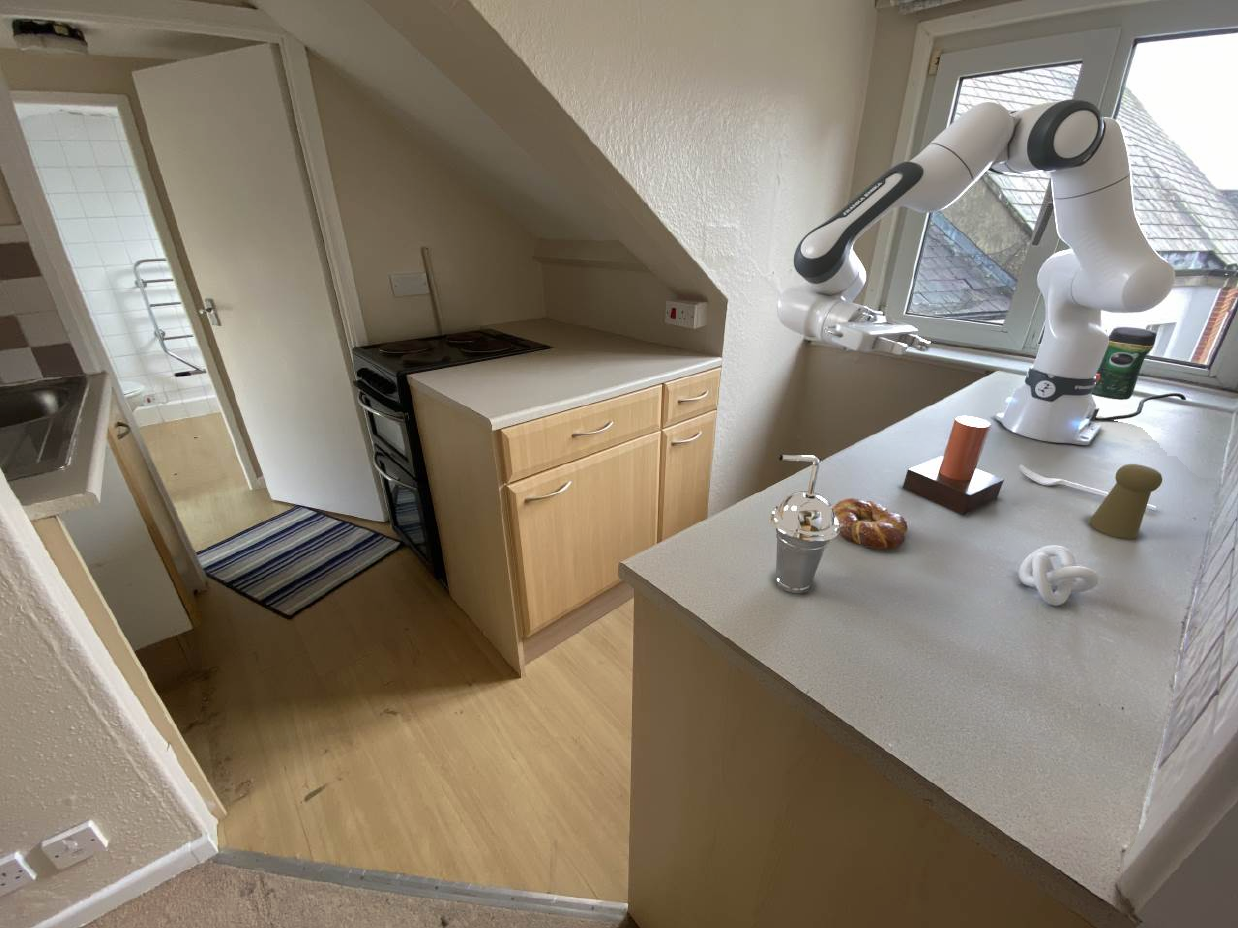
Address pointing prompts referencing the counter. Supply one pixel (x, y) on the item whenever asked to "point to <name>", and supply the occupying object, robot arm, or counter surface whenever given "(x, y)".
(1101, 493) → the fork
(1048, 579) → the knot
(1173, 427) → the counter surface
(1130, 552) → the counter surface
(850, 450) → the counter surface
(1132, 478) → the cork
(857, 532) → the pretzel
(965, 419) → the canister
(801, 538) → the cup with straw
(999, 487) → the stand
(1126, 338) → the coffee jar
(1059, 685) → the counter surface
